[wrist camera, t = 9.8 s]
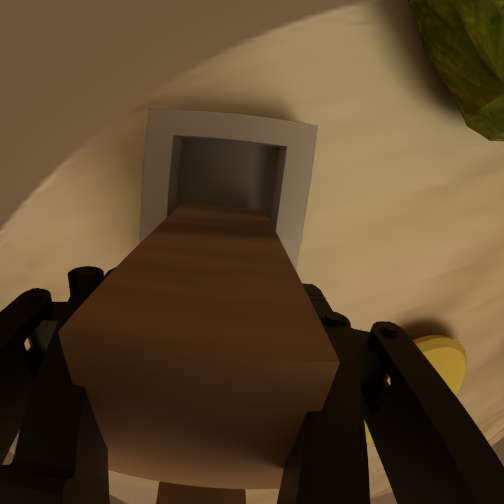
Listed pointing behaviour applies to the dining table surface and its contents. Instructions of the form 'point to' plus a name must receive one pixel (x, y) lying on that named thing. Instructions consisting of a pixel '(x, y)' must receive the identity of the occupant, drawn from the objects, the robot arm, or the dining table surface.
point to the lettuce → (468, 56)
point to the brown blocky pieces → (226, 194)
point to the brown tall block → (202, 352)
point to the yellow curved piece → (441, 362)
